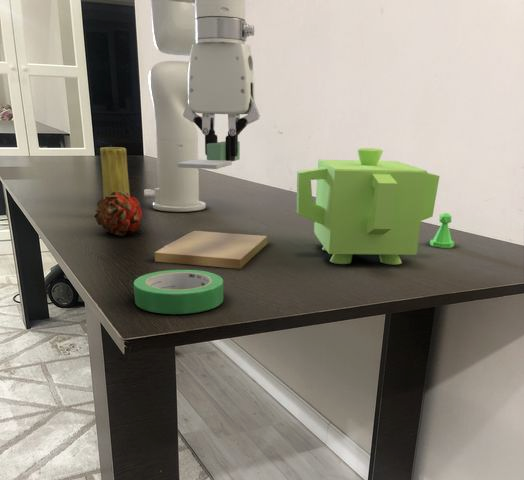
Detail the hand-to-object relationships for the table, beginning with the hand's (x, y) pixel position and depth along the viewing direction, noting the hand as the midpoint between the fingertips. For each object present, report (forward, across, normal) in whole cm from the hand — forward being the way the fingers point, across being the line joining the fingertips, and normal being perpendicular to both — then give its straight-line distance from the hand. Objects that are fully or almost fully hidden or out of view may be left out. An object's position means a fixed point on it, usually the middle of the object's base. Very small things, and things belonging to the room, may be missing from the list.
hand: (221, 159), depth 93 cm
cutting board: (+15, 0, +4) cm, 15 cm away
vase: (+15, +30, -20) cm, 39 cm away
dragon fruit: (+15, +22, -5) cm, 27 cm away
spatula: (0, 0, +3) cm, 3 cm away
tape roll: (+15, -4, +30) cm, 34 cm away
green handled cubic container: (+15, -24, -2) cm, 28 cm away
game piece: (+15, -38, -15) cm, 43 cm away
